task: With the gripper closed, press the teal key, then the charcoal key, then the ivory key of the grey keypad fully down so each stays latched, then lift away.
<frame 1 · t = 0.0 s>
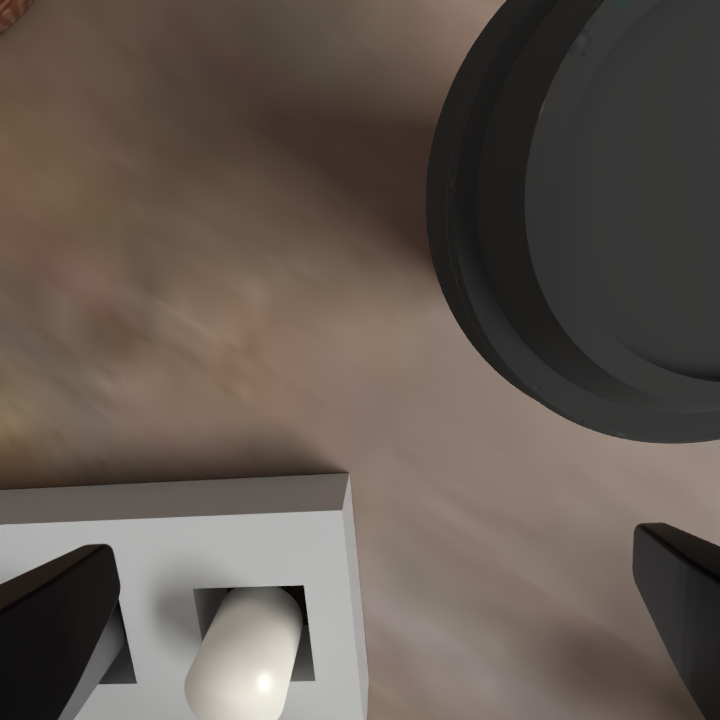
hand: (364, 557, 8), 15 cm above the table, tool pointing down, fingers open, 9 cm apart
coffee cup: (512, 224, 21), on the table
key charcoal: (61, 656, 22), point 5 cm above the table, slide at 0.0 cm
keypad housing: (116, 589, 26), on the table
key ivory: (248, 653, 21), point 4 cm above the table, slide at 0.0 cm
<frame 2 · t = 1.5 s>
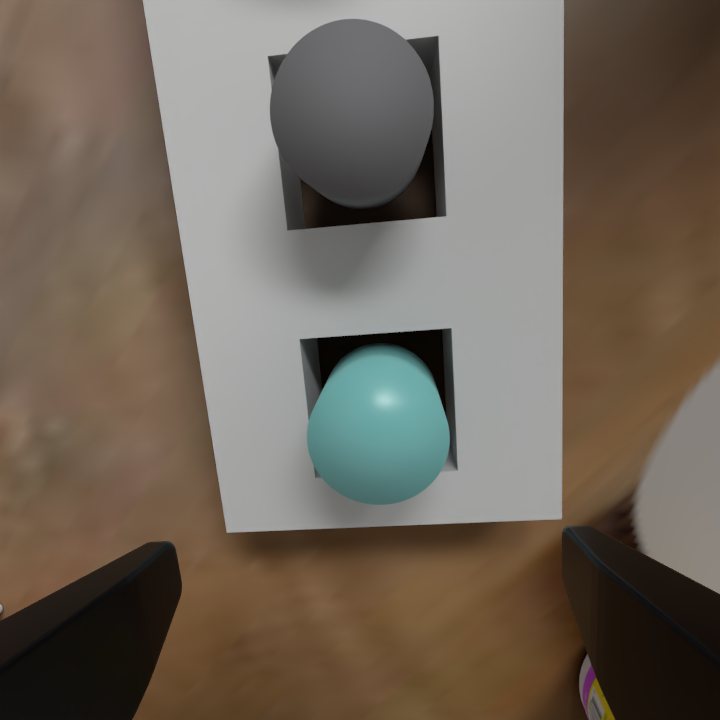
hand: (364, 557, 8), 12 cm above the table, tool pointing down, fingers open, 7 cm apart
key charcoal: (356, 130, 14), point 4 cm above the table, slide at 0.0 cm
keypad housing: (365, 158, 18), on the table
key teal: (379, 416, 16), point 4 cm above the table, slide at 0.0 cm
supplement bottle: (646, 668, 23), on the table
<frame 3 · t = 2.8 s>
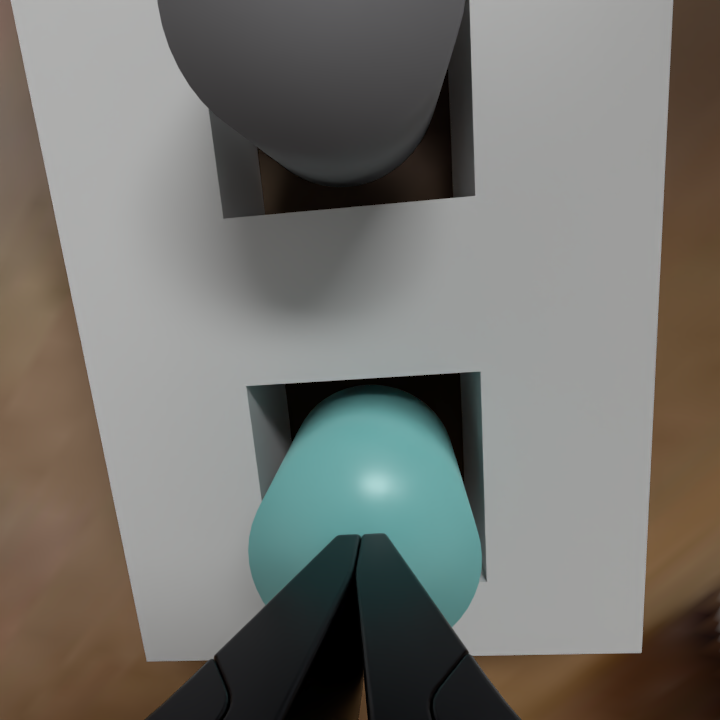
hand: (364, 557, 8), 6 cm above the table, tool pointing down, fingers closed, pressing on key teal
key charcoal: (328, 46, 8), point 4 cm above the table, slide at 0.0 cm
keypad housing: (350, 116, 13), on the table
key teal: (368, 501, 10), point 4 cm above the table, slide at 0.4 cm, touching gripper
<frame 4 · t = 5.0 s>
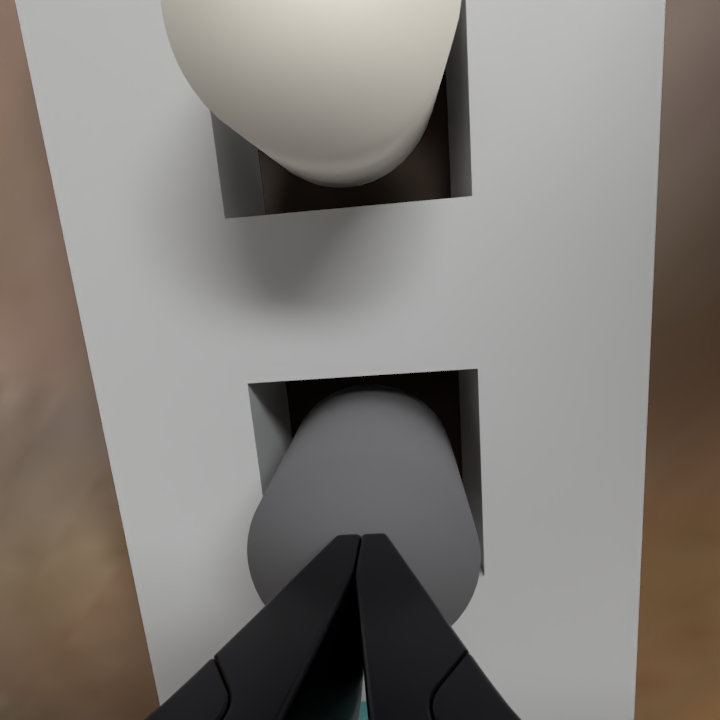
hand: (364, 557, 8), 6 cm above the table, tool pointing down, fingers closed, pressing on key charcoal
key charcoal: (367, 501, 10), point 4 cm above the table, slide at 0.2 cm, touching gripper
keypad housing: (374, 428, 15), on the table
key ivory: (327, 50, 8), point 4 cm above the table, slide at 0.0 cm
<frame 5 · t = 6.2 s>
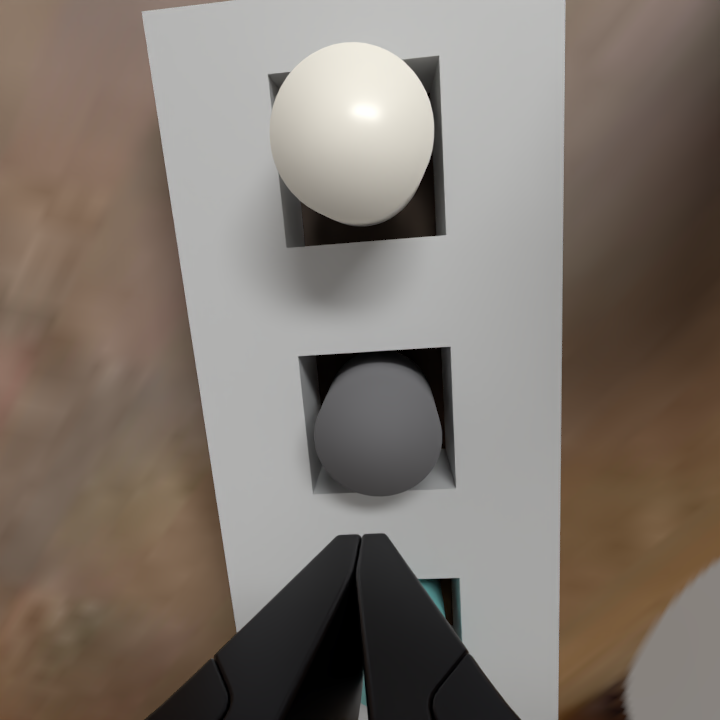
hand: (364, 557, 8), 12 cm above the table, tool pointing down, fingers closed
key charcoal: (379, 416, 17), point 3 cm above the table, slide at 1.7 cm
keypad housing: (380, 394, 20), on the table
key teal: (394, 624, 19), point 3 cm above the table, slide at 1.7 cm
key ivory: (356, 150, 14), point 4 cm above the table, slide at 0.0 cm
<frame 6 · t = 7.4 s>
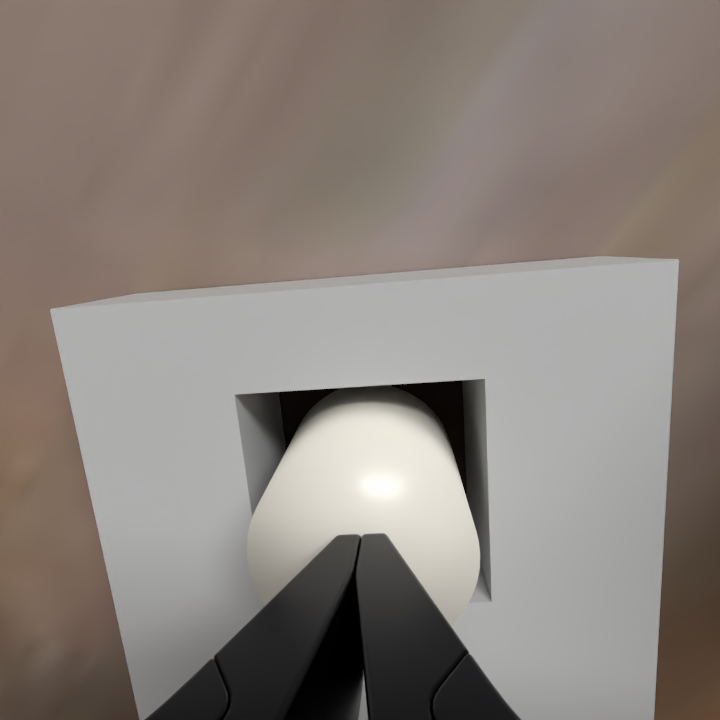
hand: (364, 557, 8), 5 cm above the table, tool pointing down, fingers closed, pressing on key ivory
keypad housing: (394, 692, 16), on the table
key ivory: (367, 500, 10), point 3 cm above the table, slide at 1.1 cm, touching gripper
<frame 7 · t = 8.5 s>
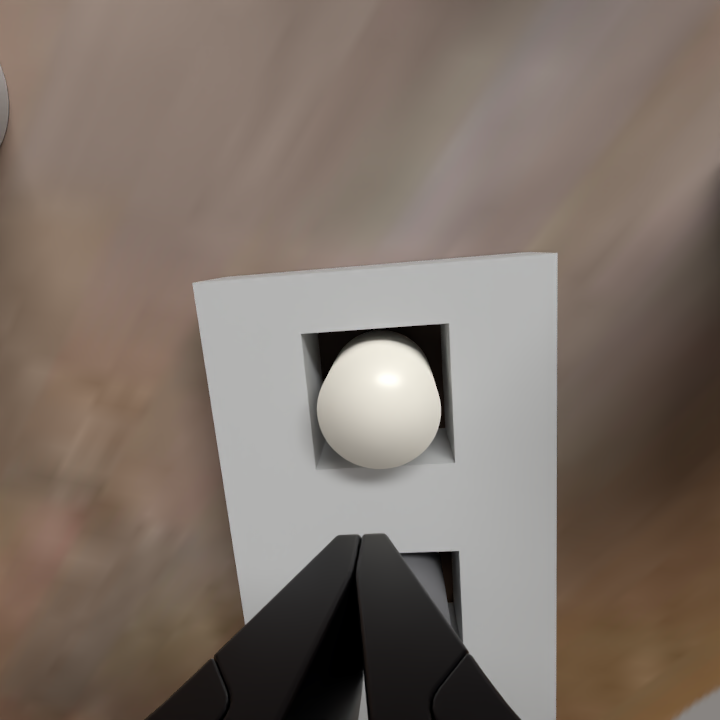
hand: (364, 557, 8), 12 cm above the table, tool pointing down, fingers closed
key charcoal: (395, 598, 20), point 3 cm above the table, slide at 1.7 cm
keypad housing: (395, 555, 22), on the table
key ivory: (380, 393, 18), point 3 cm above the table, slide at 1.7 cm
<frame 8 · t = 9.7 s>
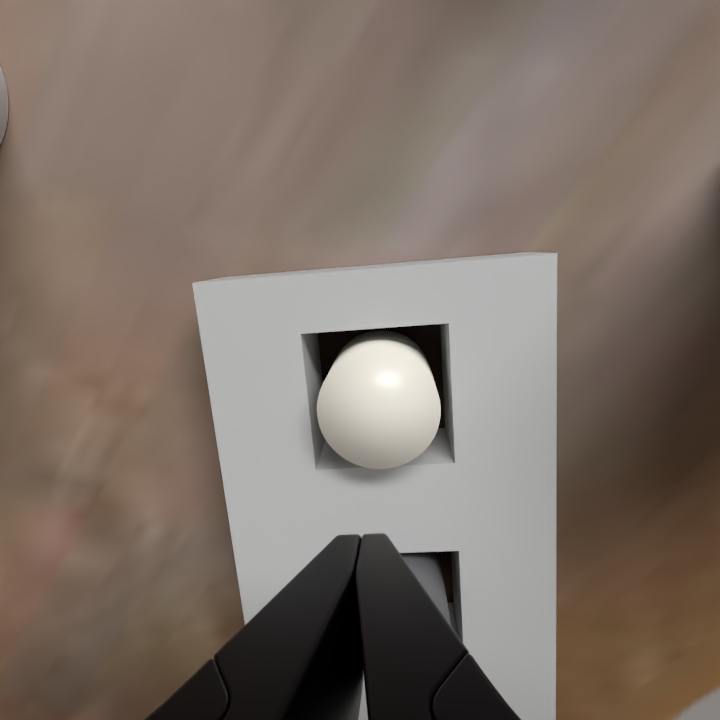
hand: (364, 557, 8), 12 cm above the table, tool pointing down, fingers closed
key charcoal: (395, 598, 20), point 3 cm above the table, slide at 1.7 cm
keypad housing: (395, 556, 22), on the table
key ivory: (379, 393, 18), point 3 cm above the table, slide at 1.7 cm
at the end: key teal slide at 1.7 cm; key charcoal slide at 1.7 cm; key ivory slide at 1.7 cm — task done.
